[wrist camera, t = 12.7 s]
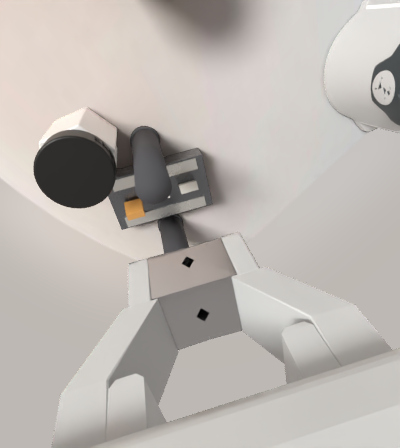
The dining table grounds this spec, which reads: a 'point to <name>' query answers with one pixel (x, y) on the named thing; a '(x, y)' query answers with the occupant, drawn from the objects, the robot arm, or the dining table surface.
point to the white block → (188, 186)
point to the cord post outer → (172, 233)
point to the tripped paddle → (134, 209)
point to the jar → (77, 159)
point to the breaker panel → (177, 203)
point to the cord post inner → (149, 166)
